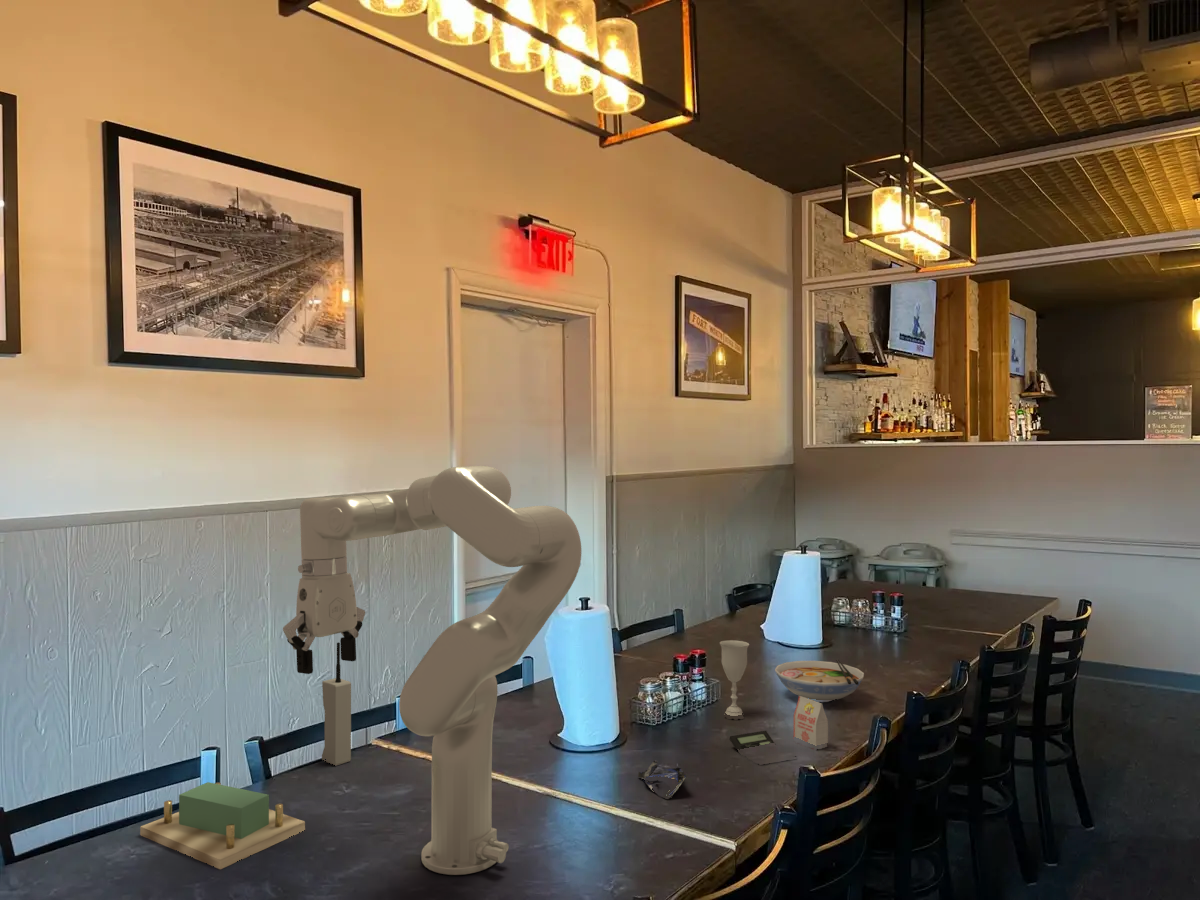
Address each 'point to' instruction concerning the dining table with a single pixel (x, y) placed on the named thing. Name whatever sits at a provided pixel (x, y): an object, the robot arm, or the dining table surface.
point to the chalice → (734, 668)
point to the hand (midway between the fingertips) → (327, 666)
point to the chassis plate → (220, 837)
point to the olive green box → (224, 809)
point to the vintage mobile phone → (337, 718)
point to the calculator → (751, 739)
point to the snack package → (664, 775)
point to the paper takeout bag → (810, 722)
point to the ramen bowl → (819, 679)
